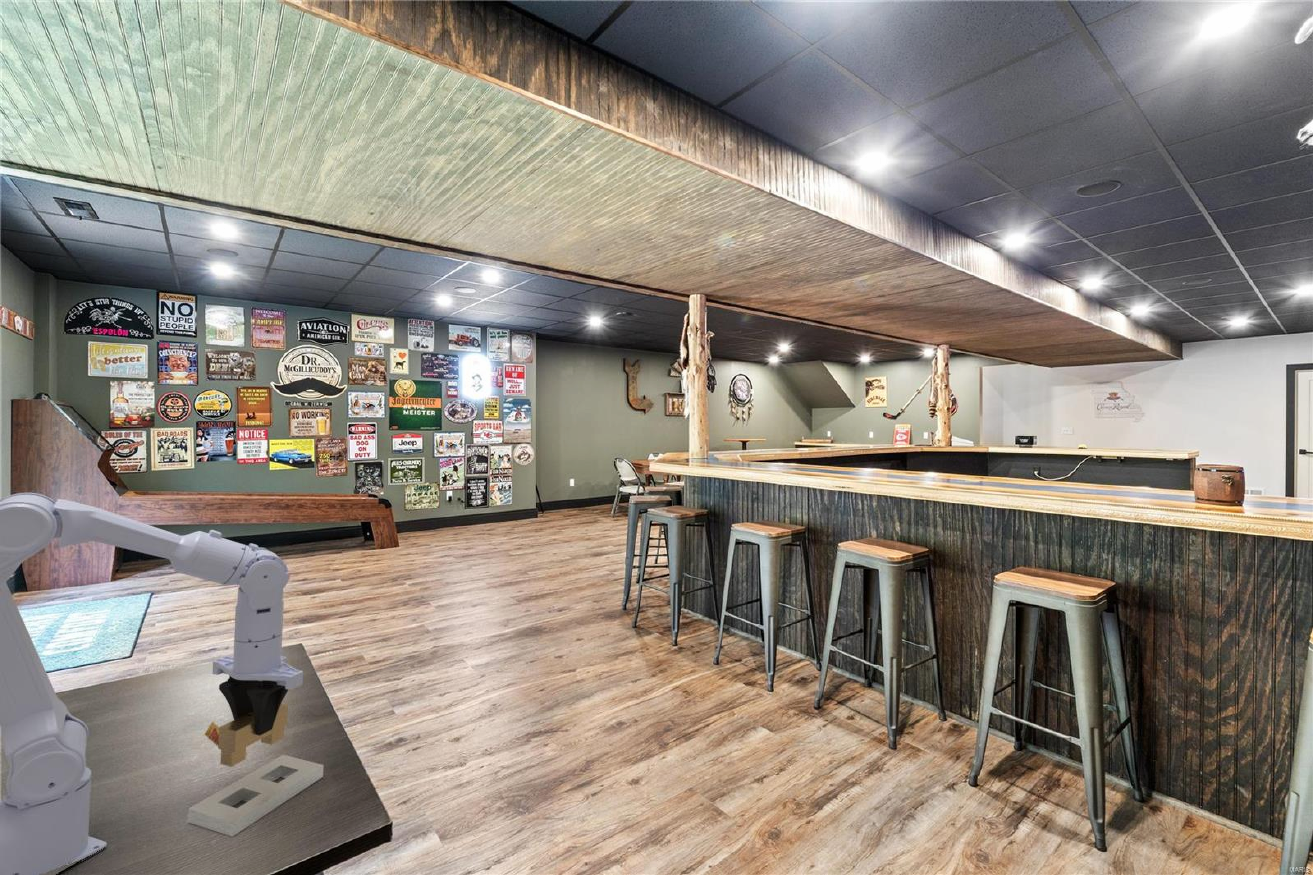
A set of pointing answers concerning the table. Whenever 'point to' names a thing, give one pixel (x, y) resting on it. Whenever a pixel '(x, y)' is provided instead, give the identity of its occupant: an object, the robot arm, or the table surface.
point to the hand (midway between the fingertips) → (254, 729)
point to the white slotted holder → (254, 795)
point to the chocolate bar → (213, 733)
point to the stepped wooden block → (247, 736)
